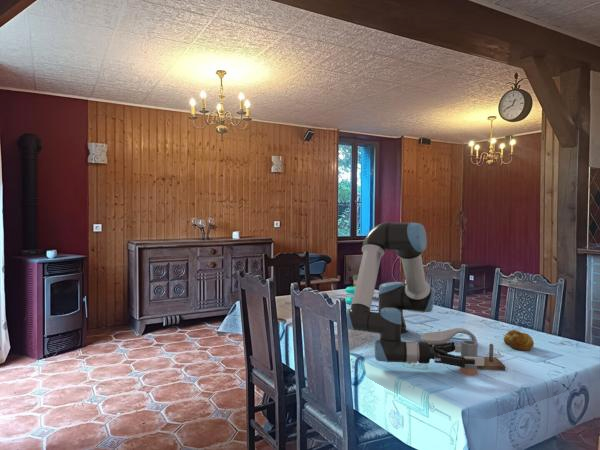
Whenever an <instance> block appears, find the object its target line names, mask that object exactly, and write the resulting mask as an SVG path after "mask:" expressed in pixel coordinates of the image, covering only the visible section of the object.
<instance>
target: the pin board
mask: <svg viewBox="0 0 600 450" xmlns="http://www.w3.org/2000/svg"><path fill="white" fill-rule="evenodd" d="M488 348H489V350H488V351H489V353H488V354H489V355H488V356H483V357H484V366H477V370H489V371H506V369H507V368H506V365H505V364H504V363H503V362H502V361H501V360H500V359H499V358H498V357H497V356H494V344H493V343H489V345H488ZM456 356H459V357H461V355H458V354H457V355H456ZM477 357H481V356H478V355H477ZM460 362H461V361H460Z"/></svg>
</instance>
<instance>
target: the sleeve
mask: <svg viewBox="0 0 600 450" xmlns="http://www.w3.org/2000/svg"><path fill="white" fill-rule="evenodd" d="M477 343H478V341H477V342H475V341H472V339H470V340H469V339H468V340H467V339H464V340H461V341H460V345H461V353H460V356H461V357H464V356H465V357H477V356H478V346H477ZM459 368H460V369H459V371H460V373H461V374H463V375H466V376H476V375H478V369H477V366H476V365H465V368H462V367H459Z"/></svg>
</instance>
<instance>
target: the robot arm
mask: <svg viewBox="0 0 600 450" xmlns="http://www.w3.org/2000/svg"><path fill="white" fill-rule="evenodd" d="M427 239H428V238H427V232H426V229H425V227H424V225H423V224H422V223H420V222H419V223H418V222H413V221H412V222H390V221H387V222H381V223H380V224H379V223H378V224H377V225H376V226H374V227H373V228H371V230H370V231H369V232H368V233H367V234H366V236H365V238H364V240H363V243H362V246H361V252H362V257H361V262H360V265H359V270H358V273H357V274H358V278H357V282H356V287H355V291H354V294H352V295H353V296H352V297H353V300H352V304H350V308H346V316H347V330H352V331H359V332H367V333H374V334H379V337H380V338H379V339H378V340H375V342H374V358H375V360H376V361H377V362H384V363H385V362H386V363H403V364H404V363H407V364H408V365H411V364H417V363H419V364H423V365H424V364H425V365H428V364H430V360H431V359H432V360H433V361H434V363H435V364H442V365H449V366H454V367H458V368H460V367H462V368H465V365H476V366H484V357H485V356H480V357H465V356H464V357H459V356H460V355H457V356H456V355H455V354H451V353H452V352H455V353H458V354H459V353H460V354H461V344H455V342H454V341H451V342H447V343H441V344H428V343H427V342H424V341H418V342H417V341H408V340H407V341H405V340H404V341H403V340H402V333H406V332H407V324H406V321H405V318H404V311H411V312H419V313H431V312H433V308H434V303H435V294H436V289H435V288H434V287H432V286H431V285H430V284H429V283H428V282H427V281H426V275H425V269H424V264H423V259H422V255H423V252H424V251H426V249H427V244H428V240H427ZM386 251H395V253H396V255H397V256H398V258H400V259H401V264H402V267H403V272H404V274H403V275H404V277H405V282H406V285H404V282H403V281H390V282H384V283H382V284H380V285H379V287H378V312H377V311H376V312H375V311H371V307H372V303H373V299H374V292H375V288H376V283H377V280H378V279H377V278H378V274H379V269H380V264H381V259H382V257H383V256H384V255H385V252H386ZM460 361H461V362H460Z"/></svg>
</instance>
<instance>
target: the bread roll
mask: <svg viewBox="0 0 600 450" xmlns="http://www.w3.org/2000/svg"><path fill="white" fill-rule="evenodd" d="M503 342H504V343H505V344H506V345H508V346H509V347H511V348H512V349H514V350H518V351H528V350H531V349H533V348H534V345H535V343H534V340H533V338H532V336H531V335H529V333H525V332H521V331H519V330H516V329H512V330H509V331H508V332H506V334H505V336H503Z"/></svg>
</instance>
